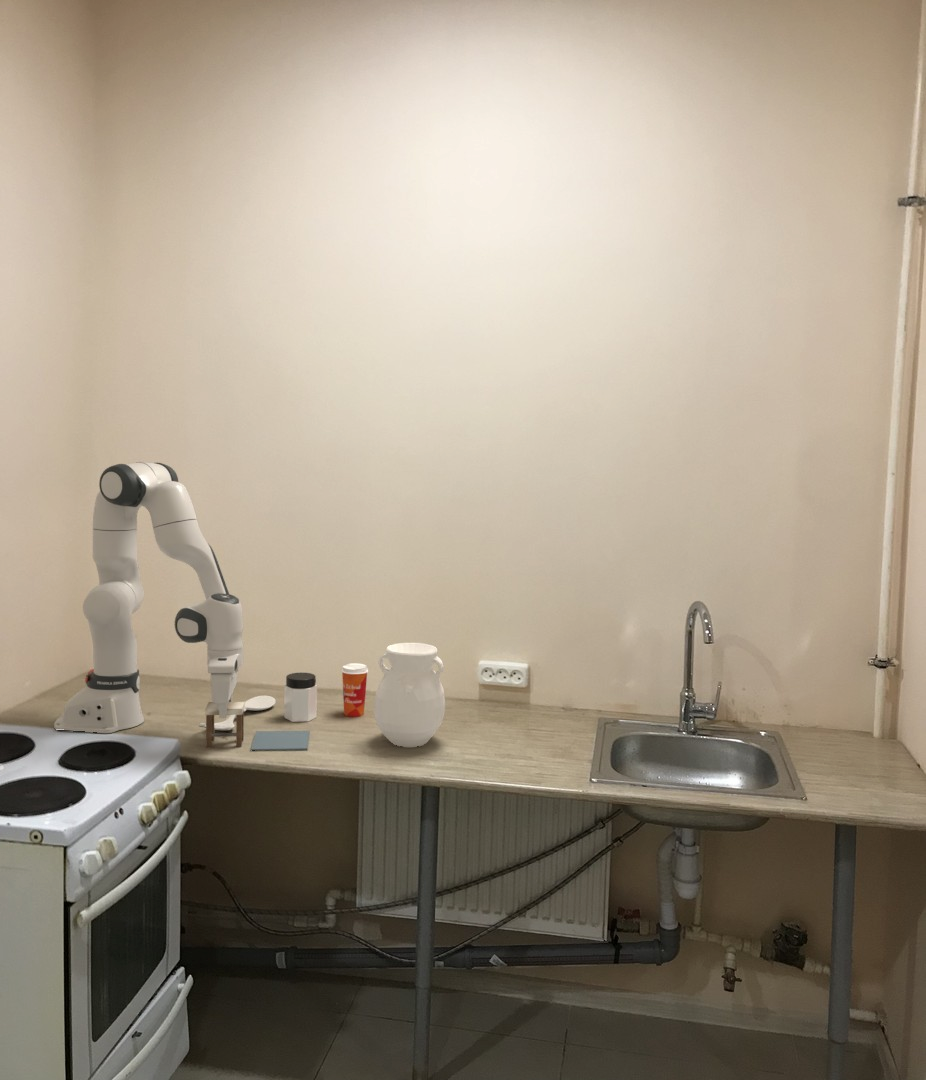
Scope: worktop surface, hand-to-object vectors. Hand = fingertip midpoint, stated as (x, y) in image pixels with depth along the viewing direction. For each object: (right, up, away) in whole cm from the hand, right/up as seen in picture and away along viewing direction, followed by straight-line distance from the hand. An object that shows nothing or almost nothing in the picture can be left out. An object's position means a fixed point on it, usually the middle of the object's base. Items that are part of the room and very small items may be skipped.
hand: (225, 711), depth 234 cm
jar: (+15, -7, +24) cm, 29 cm away
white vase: (+46, -9, +7) cm, 48 cm away
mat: (+13, -9, +4) cm, 16 cm away
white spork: (-1, -7, +22) cm, 23 cm away
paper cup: (+29, -6, +29) cm, 42 cm away
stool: (0, -8, +1) cm, 8 cm away
